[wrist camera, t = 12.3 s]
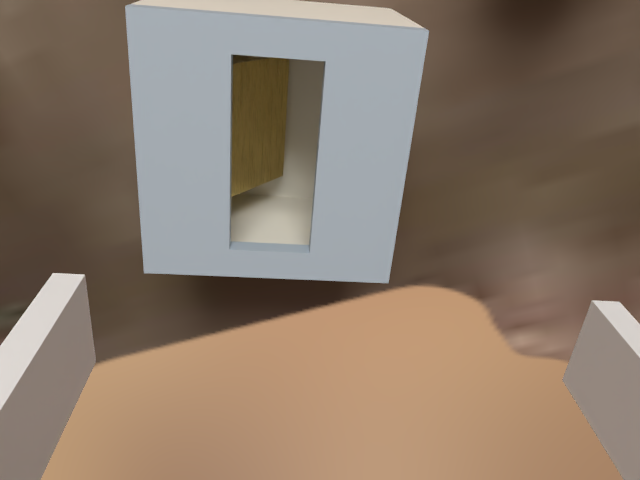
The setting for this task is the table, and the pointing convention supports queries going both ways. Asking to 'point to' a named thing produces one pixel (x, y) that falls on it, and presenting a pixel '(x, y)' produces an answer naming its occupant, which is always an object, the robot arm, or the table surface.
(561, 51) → the table surface
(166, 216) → the coin box
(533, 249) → the table surface
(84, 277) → the robot arm
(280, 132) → the block
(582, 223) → the table surface
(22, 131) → the table surface
